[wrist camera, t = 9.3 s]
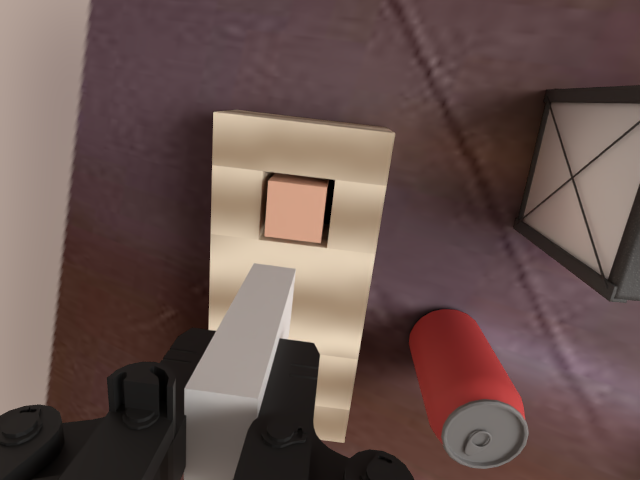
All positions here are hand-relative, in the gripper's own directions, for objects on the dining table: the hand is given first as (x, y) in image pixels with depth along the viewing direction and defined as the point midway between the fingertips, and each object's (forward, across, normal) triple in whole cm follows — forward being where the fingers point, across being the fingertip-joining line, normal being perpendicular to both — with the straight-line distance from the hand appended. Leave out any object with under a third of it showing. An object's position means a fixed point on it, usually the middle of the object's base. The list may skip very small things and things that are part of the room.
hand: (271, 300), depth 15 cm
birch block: (+21, -1, -8) cm, 22 cm away
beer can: (+21, +14, -13) cm, 28 cm away
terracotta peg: (+20, -1, -1) cm, 20 cm away
